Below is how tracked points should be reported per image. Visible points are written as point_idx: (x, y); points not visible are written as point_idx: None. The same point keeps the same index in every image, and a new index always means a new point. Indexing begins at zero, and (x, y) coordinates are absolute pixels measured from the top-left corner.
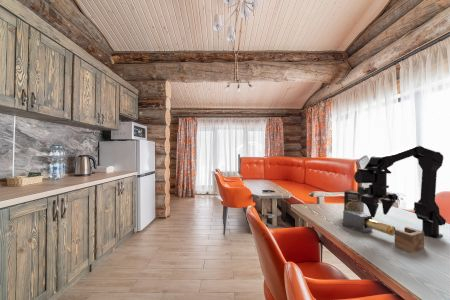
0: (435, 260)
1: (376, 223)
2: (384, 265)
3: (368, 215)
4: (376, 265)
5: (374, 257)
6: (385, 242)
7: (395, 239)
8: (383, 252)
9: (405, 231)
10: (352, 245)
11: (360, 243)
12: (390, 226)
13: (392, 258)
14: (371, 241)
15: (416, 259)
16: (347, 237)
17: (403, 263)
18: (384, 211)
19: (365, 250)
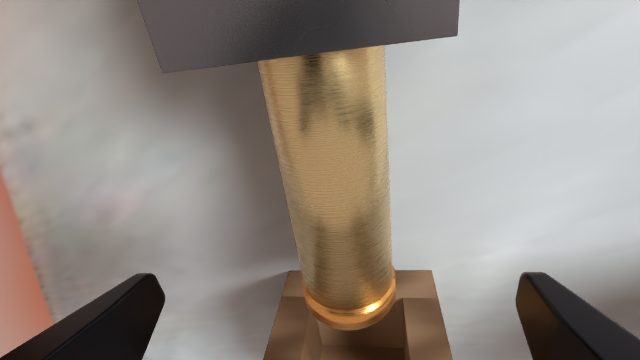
0: None
1: (294, 200)
2: None
3: (351, 25)
4: None
5: (86, 292)
6: (283, 225)
7: (278, 313)
8: (163, 284)
9: (409, 355)
10: (33, 182)
11: (100, 180)
12: (331, 318)
13: (163, 321)
14: (198, 185)
15: (261, 356)
16: (51, 72)
17: (176, 349)
18: (549, 341)
19: (81, 243)
